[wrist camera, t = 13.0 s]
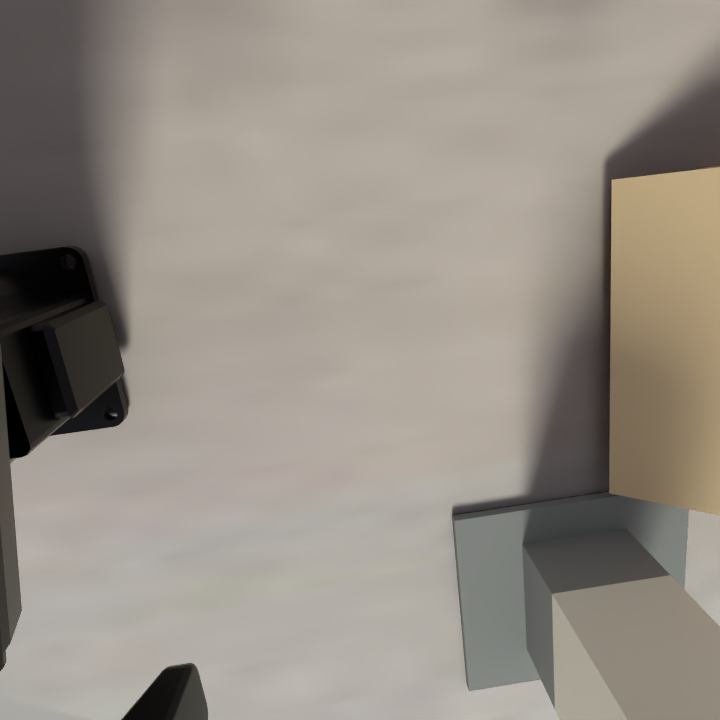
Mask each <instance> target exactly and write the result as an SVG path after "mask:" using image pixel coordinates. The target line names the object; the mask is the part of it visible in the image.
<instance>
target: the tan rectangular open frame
mask: <svg viewBox="0 0 720 720" xmlns="http://www.w3.org/2000/svg"><path fill="white" fill-rule="evenodd" d="M609 493H610V494H615V495H620V496H625V497H630V498H635V499H640V500H645V501H650V502H655V503H660V504H665V505H670V506H675V507H680V508H685V509H690V510H695V511H700V512H705V513H710V514H715V515H720V165H717V166H709V167H702V168H697V170H689V171H681V172H672V173H664V174H655V175H647V176H638V177H630V178H621V179H613V180H612V204H611V330H610V455H609Z"/></svg>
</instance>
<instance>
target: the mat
mask: <svg viewBox="0 0 720 720" xmlns="http://www.w3.org/2000/svg"><path fill="white" fill-rule="evenodd" d="M688 512H689V509H685V508H680V507H675V506H670V505H665V504H660V503H655V502H650V501H645V500H640V499H635V498H630V497H625V496H620V495H615V494H610V493H609V492H603V493H596V494H590V495H583V496H577V497H570V498H564V499H557V500H551V501H544V502H537V503H531V504H524V505H518V506H511V507H505V508H498V509H492V510H485V511H479V512H472V513H466V514H459V515H453V516H452V520H453V532H454V543H455V554H456V566H457V577H458V589H459V600H460V612H461V623H462V635H463V646H464V658H465V669H466V681H467V686H468V689H469V691H473V690H479V689H485V688H491V687H497V686H503V685H509V684H515V683H521V682H528V681H534V680H540V679H541V678H540V676H539V674H538V672H537V670H536V668H535V665H534V663H533V661H532V659H531V657H530V655H529V653H528V651H527V643H526V620H525V597H524V573H523V550H522V544H529V543H535V542H542V541H548V540H555V539H561V538H568V537H574V536H581V535H587V534H594V533H600V532H607V531H613V530H620V529H627V530H628V531H629V532H630V533H631V534H632V535H633V536H634V537H635V538H636V539H637V540H638V542H639V543H640V544H641V545H642V546H643V547H644V548H645V549H646V550H647V551H648V552H649V553H650V554H651V555H652V556H653V557H654V558H655V559H656V560H657V561H658V563H659V564H660V565H661V566H662V567H663V568H664V569H665V570H666V571H667V572H668V573H669V574H670V575H671V576H672V577H673V578H674V579H675V580H676V581H677V583H678V584H679V585H680V586H681V587H682V588H683V589H684V583H685V566H686V548H687V530H688Z"/></svg>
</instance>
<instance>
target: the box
mask: <svg viewBox="0 0 720 720" xmlns="http://www.w3.org/2000/svg"><path fill="white" fill-rule="evenodd" d="M522 550H523V573H524V597H525V620H526V643H527V651H528V653H529V655H530V657H531V659H532V661H533V663H534V665H535V668H536V670H537V672H538V674H539V676H540V678H541V680H542V682H543V685H544V687H545V689H546V691H547V693H548V695H549V697H550V700H551V702H552V704H553V706H554V708H555V710H556V712H557V714H558V717H559V719H560V720H720V627H719V626H718V625H717V623H716V622H715V621H714V620H713V619H712V618H711V617H710V616H709V615H708V614H707V613H706V612H705V611H704V610H703V609H702V608H701V607H700V606H699V605H698V604H697V602H696V601H695V600H694V599H693V598H692V597H691V596H690V595H689V594H688V593H687V592H686V591H685V590H684V589H683V588H682V587H681V586H680V585H679V584H678V583H677V581H676V580H675V579H674V578H673V577H672V576H671V575H670V574H669V573H668V572H667V571H666V570H665V569H664V568H663V567H662V566H661V565H660V564H659V563H658V561H657V560H656V559H655V558H654V557H653V556H652V555H651V554H650V553H649V552H648V551H647V550H646V549H645V548H644V547H643V546H642V545H641V544H640V543H639V542H638V540H637V539H636V538H635V537H634V536H633V535H632V534H631V533H630V532H629V531H628V530H627V529H620V530H613V531H607V532H600V533H594V534H587V535H581V536H574V537H568V538H561V539H555V540H548V541H542V542H535V543H529V544H522Z"/></svg>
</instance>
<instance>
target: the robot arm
mask: <svg viewBox="0 0 720 720" xmlns="http://www.w3.org/2000/svg"><path fill="white" fill-rule="evenodd" d="M67 255H71V256H73V257H74V258H75V260H76V266H75V268H71V267H69V266H68V265H67V263H66V257H67ZM123 373H124V367H123V363H122V359H121V355H120V351H119V348H118V344H117V340H116V336H115V332H114V329H113V325H112V321H111V317H110V313H109V310H108V306H107V305H106V304H104V303H103V302H102V301H100V300H99V297H98V294H97V290H96V286H95V282H94V279H93V275H92V271H91V267H90V264H89V260H88V257H87V255H86V253H85V252H84V251H83V250H82V249H80V248H78V247H74V246H67V247H59V248H52V249H44V250H37V251H29V252H21V253H14V254H6V255H0V671H1V670H2V669H3V667H4V665H5V663H6V648H7V647H8V645H9V644H10V642H11V639H12V637H13V634H14V631H15V628H16V625H17V622H18V619H19V617H20V614H21V611H22V608H21V596H20V583H19V570H18V558H17V545H16V532H15V520H14V507H13V494H12V482H11V469H10V463H11V462H12V461H14V460H15V459H16V458H19V457H23V456H26V455H28V454H29V453H30V452H31V451H32V450H33V449H35V448H36V447H37V446H38V445H39V444H40V443H42V442H43V441H44V440H45V439H46V438H47V437H49V436H52V435H59V434H66V433H73V432H79V431H86V430H93V429H100V428H107V427H114V426H117V425H119V424H120V423H121V422H123V420H124V419H125V418H126V417H127V415H128V406H127V403H126V399H125V395H124V391H123V388H122V384H121V380H120V377H121V376H122V374H123ZM108 407H110V408H114V409H115V410H116V411H117V413H118V416H112V415H110V414H109V413H108V411H107V408H108ZM122 720H208V709H207V703H206V699H205V695H204V691H203V688H202V684H201V680H200V676H199V672H198V669H197V667H196V666H195V665H194V664H192V663H186V664H180V665H174V666H169V667H167V668H166V669H164V670H163V671H162V672H161V673H160V675H159V676H158V677H157V678H156V679H155V680H154V682H153V683H152V684H151V685H150V686H149V688H148V689H147V690H146V691H145V692H144V693H143V695H142V696H141V697H140V698H139V699H138V701H137V702H136V703H135V704H134V705H133V707H132V708H131V709H130V710H129V711H128V712H127V714H126V715H125V716H124V717H123V718H122Z"/></svg>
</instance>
